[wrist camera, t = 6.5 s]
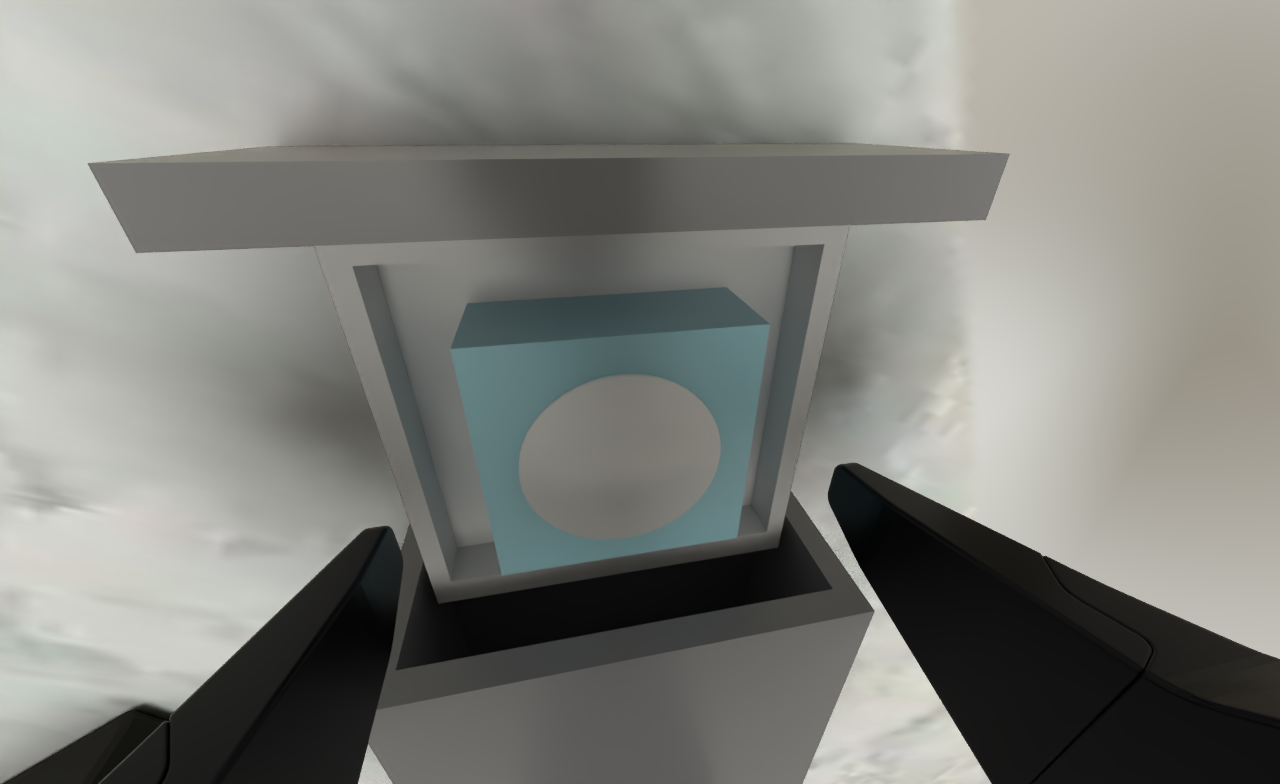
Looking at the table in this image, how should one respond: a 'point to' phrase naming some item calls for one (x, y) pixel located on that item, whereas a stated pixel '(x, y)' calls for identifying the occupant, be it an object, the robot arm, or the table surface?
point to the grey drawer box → (625, 672)
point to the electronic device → (93, 753)
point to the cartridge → (610, 420)
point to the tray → (549, 277)
